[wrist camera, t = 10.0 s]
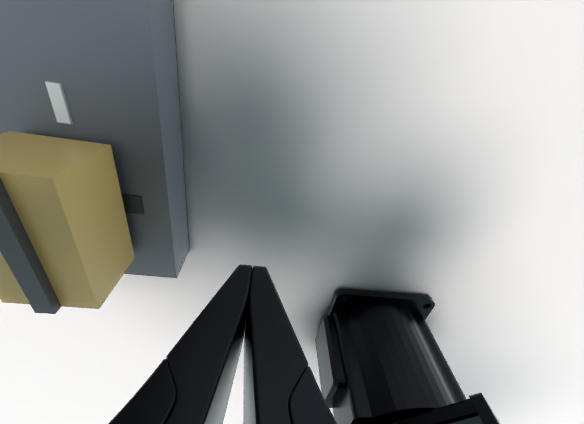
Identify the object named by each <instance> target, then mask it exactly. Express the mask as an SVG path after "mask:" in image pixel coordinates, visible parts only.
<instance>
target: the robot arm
mask: <svg viewBox="0 0 584 424" xmlns="http://www.w3.org/2000/svg"><path fill="white" fill-rule="evenodd" d="M434 306H435V303H434V301H433V300H432V298H431V297H430V296H423V295H411V294H399V293H387V292H376V291H364V290H352V289H340V290H338V291H336V293H335V294H334V297H333V300H332V302H331V305H330V308H329V311H328V313H327V315H325V316H324V317H323V319H322V322H321V325H320V327H319V330H318V333H317V336H316V339H315V340H316V349H317V357H318V366H319V374H320V383H321V391H322V393H321V391H320V389H319V387H318V384H317V382H316V380H315V378H314V375H313V373H312V371H311V369H310V367H309V366H308V362H307V360H306V357H305V355H304V353H303V351H302V348H301V346H300V344H299V341H298V339H297V337H296V335H295V332H294V330H293V328H292V325H291V323H290V321H289V318H288V316H287V314H286V312H285V309H284V307H283V305H282V302H281V300H280V298H279V296H278V293H277V291H276V289H275V286H274V284H273V282H272V279H271V277H270V275H269V273H268V270H267V268H266V267H262V266H254V267H253V269H252V266H250V265H239V266H238V267H237V268H236V269H235V271H234V272H233V273H232V274H231V276H230V277H229V278H228V279H227V281H226V282H225V283H224V284H223V286H222V287H221V288H220V289H219V291H218V292H217V293H216V295H215V296H214V297H213V298H212V300H211V301H210V302H209V303H208V305H207V306H206V307H205V308H204V310H203V311H202V312H201V313H200V315H199V316H198V317H197V318H196V320H195V321H194V322H193V324H192V325H191V326H190V327H189V329H188V330H187V331H186V332H185V334H184V335H183V336H182V337H181V339H180V340H179V341H178V342H177V344H176V345H175V346H174V347H173V349H172V350H171V351H170V352H169V354H168V355H167V357H166V359H164V360H163V361H162V362H161V364H160V365H159V366H158V367H157V369H156V370H155V371H154V372H153V374H152V375H151V376H150V377H149V378H148V380H147V381H146V382H145V383H144V384H143V386H142V387H141V388H140V389H139V390H138V392H137V393H136V394H135V395H134V396H133V398H132V399H131V400H130V401H129V402H128V403H127V404H126V405H125V406H124V407H123V408H122V410H121V411H120V412H119V413H118V414H117V415H116V416H115V417H114V418H113V419H112V420H111V422H110V423H109V424H223V420H224V416H225V412H226V408H227V404H228V400H229V396H230V392H231V388H232V384H233V380H234V376H235V372H236V368H237V364H238V360H239V356H240V352H241V348H242V343H243V339H244V419H243V424H500V422H499V421H498V419H497V417H496V416H495V414H494V413H493V411H492V409H491V408H490V406H489V404H488V403H487V401H486V400H485V398H484V396H483V395H482V393H478V394H474V395H471V396H469V398H470V399H466V398H465V396H464V394H463V392H462V390H461V388H460V386H459V384H458V382H457V380H456V379H455V377H454V375H453V373H452V371H451V369H450V367H449V365H448V363H447V361H446V360H445V358H444V356H443V354H442V352H441V350H440V348H439V346H438V344H437V342H436V341H435V339H434V337H433V335H432V333H431V331H430V329H429V327H428V325H427V323H426V322H425V319H426V318H427V316H428V315H429V313H430V312H431V311H432V309H433V308H434ZM245 325H246V326H245ZM244 333H245V336H244ZM329 408H333V413H334V417H333V415H332V413H331V411H330V409H329Z"/></svg>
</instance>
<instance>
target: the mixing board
mask: <svg viewBox="0 0 584 424" xmlns="http://www.w3.org/2000/svg"><path fill="white" fill-rule="evenodd" d="M8 131H13V132H21V133H28V134H35V135H43V136H50V137H58V138H65V139H72V140H80V141H87V142H94V143H102V144H109V145H111V148H112V153H113V158H114V162H115V167H116V172H117V176H118V181H119V186H120V190H121V195H122V200H123V204H124V209H125V214H126V218H127V223H128V228H129V233H130V237H131V242H132V247H133V251H134V256H135V258H134V259H133V261H132V262H131V264H130V265H129V267H128V268H127V269H126V271H125V272H124V274H135V275H147V276H159V277H171V278H177V276H178V274H179V272H180V270H181V267H182V265H183V263H184V261H185V258H186V256H187V254H188V252H189V241H188V226H187V211H186V195H185V180H184V165H183V149H182V134H181V119H180V103H179V88H178V73H177V57H176V42H175V27H174V11H173V0H0V134H2V133H5V132H8Z"/></svg>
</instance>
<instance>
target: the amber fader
mask: <svg viewBox="0 0 584 424" xmlns="http://www.w3.org/2000/svg"><path fill="white" fill-rule="evenodd" d="M134 258H135V256H134V251H133V247H132V242H131V237H130V233H129V228H128V223H127V218H126V214H125V209H124V204H123V200H122V195H121V190H120V186H119V181H118V176H117V172H116V167H115V162H114V158H113V153H112V148H111V145H109V144H102V143H94V142H87V141H80V140H72V139H65V138H58V137H50V136H43V135H35V134H28V133H21V132H13V131H8V132H5V133H2V134H0V299H1V300H2V302H6V303H21V304H31V306H32V308H33V310H34V311H35V313H49V314H55V313H56V312H57V311H58V310H59V309H60V307H61V306H65V307H80V308H95V309H99V308H100V307H101V305H102V304H103V303H104V301H105V300H106V298H107V297H108V295H109V294H110V293H111V291H112V290H113V288H114V287H115V285H116V284H117V282H118V281H119V280H120V278H121V277H122V275H123V274H124V272H125V271H126V269H127V268H128V267H129V265H130V264H131V262H132V261H133V259H134Z"/></svg>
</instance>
